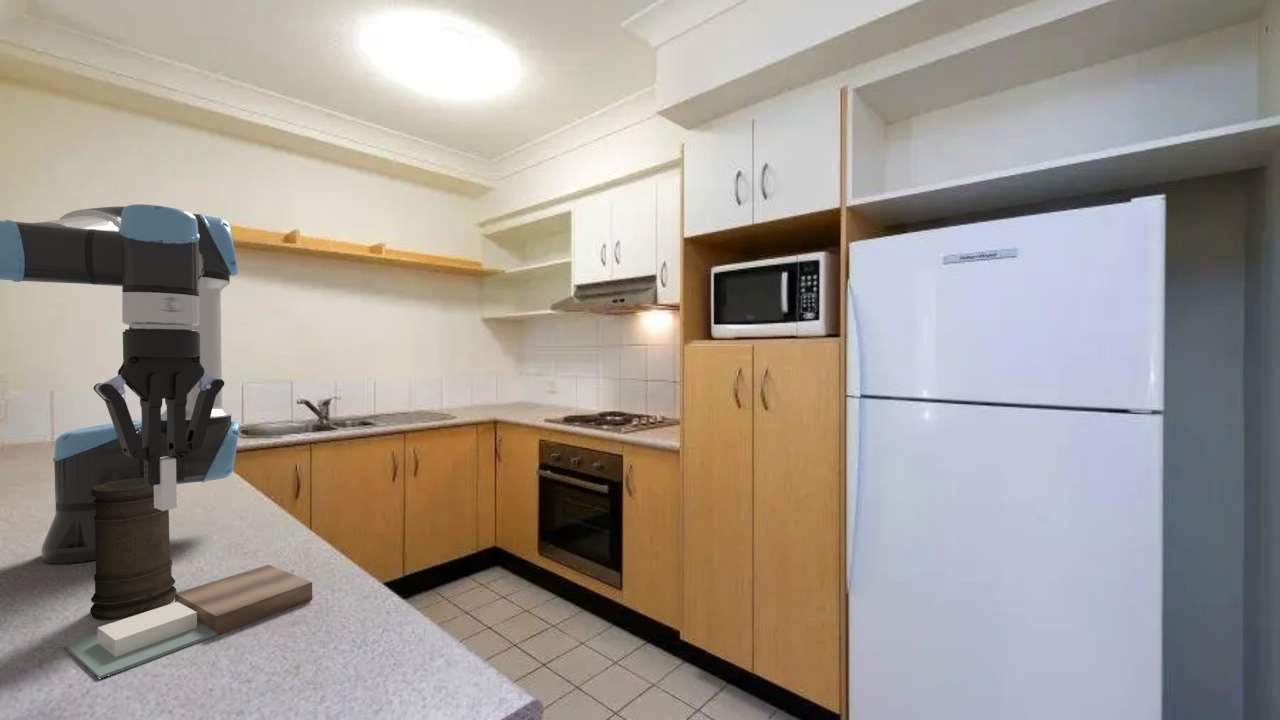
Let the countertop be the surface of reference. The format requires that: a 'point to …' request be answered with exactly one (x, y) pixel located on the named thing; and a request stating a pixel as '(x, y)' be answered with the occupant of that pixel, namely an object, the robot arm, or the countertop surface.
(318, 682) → the countertop surface
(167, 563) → the container
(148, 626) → the block
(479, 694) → the countertop surface
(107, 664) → the mat
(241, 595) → the board
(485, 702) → the countertop surface
